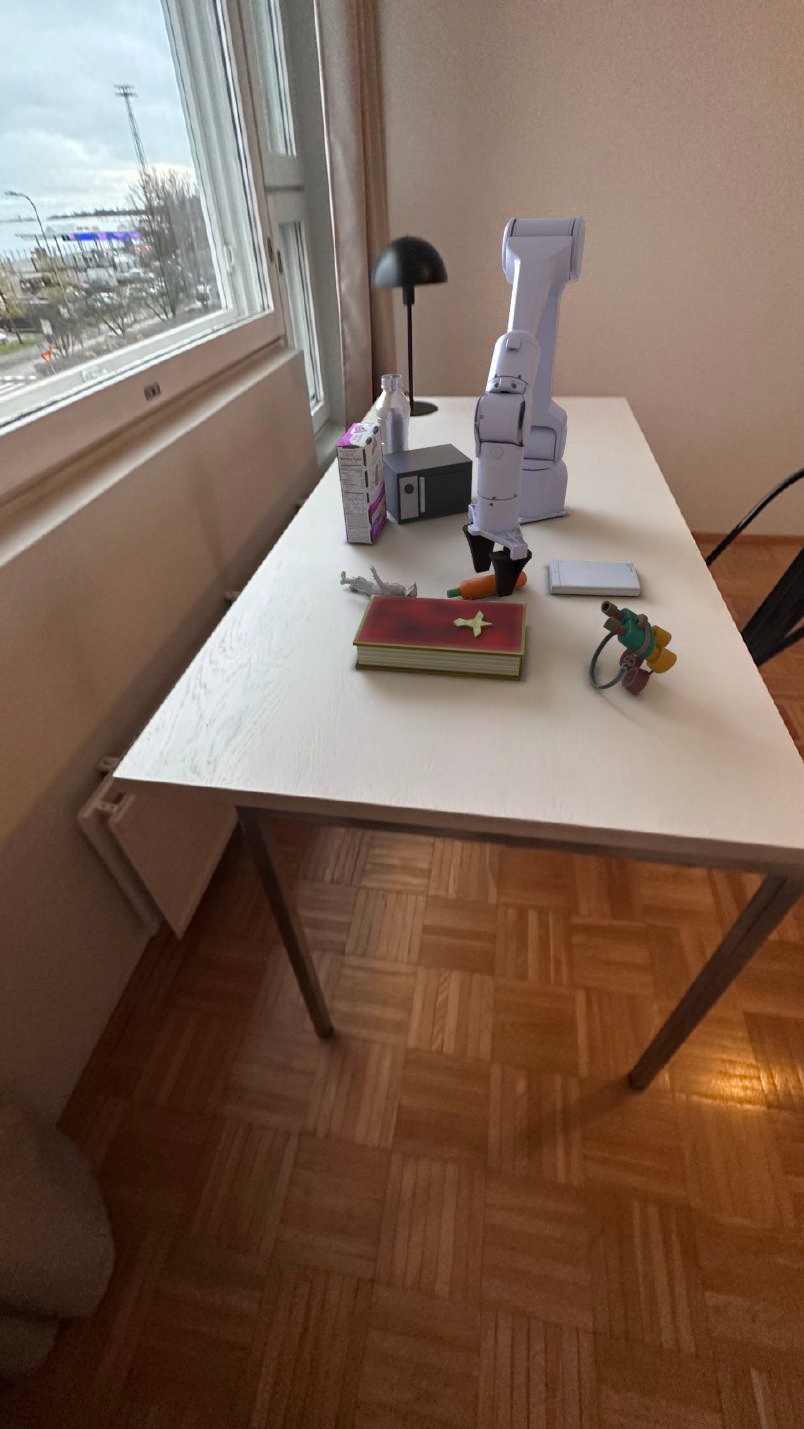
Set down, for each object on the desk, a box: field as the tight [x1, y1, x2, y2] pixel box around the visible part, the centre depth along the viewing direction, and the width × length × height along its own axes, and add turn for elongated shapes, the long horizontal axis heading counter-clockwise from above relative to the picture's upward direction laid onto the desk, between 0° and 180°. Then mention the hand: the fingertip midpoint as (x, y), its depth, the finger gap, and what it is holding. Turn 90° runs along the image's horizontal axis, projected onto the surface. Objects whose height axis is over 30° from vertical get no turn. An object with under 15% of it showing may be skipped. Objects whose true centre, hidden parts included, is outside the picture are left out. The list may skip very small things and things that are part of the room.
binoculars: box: [589, 600, 678, 695], centre depth 74 cm, size 9×9×10 cm
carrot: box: [446, 570, 528, 600], centre depth 92 cm, size 12×3×3 cm, turn 109°
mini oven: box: [383, 443, 474, 525], centre depth 114 cm, size 11×14×9 cm
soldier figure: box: [339, 564, 418, 598], centre depth 92 cm, size 8×5×12 cm
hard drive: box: [548, 559, 641, 597], centre depth 94 cm, size 2×8×12 cm
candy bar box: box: [335, 422, 388, 545], centre depth 106 cm, size 11×5×16 cm, turn 168°
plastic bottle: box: [375, 373, 411, 454], centre depth 119 cm, size 6×7×20 cm
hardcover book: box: [352, 595, 528, 682], centre depth 82 cm, size 12×21×4 cm, turn 80°
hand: (492, 583), depth 92 cm, fingers open, 7 cm apart
